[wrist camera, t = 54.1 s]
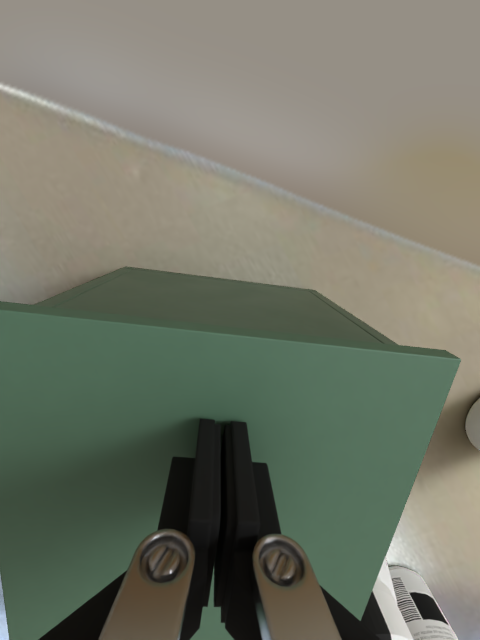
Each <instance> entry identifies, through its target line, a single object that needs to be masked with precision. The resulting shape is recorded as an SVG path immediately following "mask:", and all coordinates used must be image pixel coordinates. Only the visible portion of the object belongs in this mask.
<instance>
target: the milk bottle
mask: <svg viewBox="0 0 480 640" xmlns="http://www.w3.org/2000/svg"><path fill="white" fill-rule="evenodd" d="M465 429H466V434H467V436H468V438H469V440H470V442H471V443H472V444H473V445H474V446H475V447H476V448H477V449H478V450H479V451H480V398H479V399H478V400H477V401H476V402H475V403H474V404H473V406H472V407H471V409H470V411H469V413H468V415H467V419H466V426H465Z"/></svg>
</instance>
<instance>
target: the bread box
mask: <svg viewBox="0 0 480 640" xmlns="http://www.w3.org/2000/svg"><path fill="white" fill-rule="evenodd" d="M34 305H37V306H46V307H55V308H64V309H74V310H83V311H92V312H101V313H110V314H119V315H128V316H137V317H146V318H156V319H165V320H174V321H183V322H192V323H201V324H210V325H219V326H228V327H237V328H247V329H256V330H265V331H274V332H283V333H292V334H301V335H310V336H319V337H329V338H338V339H347V340H356V341H365V342H374V343H383V344H392V345H398V344H396V343H395V342H393V341H392V340H390V339H389V338H387V337H386V336H384V335H383V334H381V333H379V332H378V331H376V330H375V329H373V328H372V327H370V326H369V325H367V324H366V323H364V322H363V321H361V320H360V319H358V318H357V317H355V316H353V315H352V314H350V313H349V312H347V311H346V310H344V309H343V308H341V307H340V306H338V305H337V304H335V303H334V302H332V301H331V300H329V299H328V298H326V297H324V296H323V295H321V294H320V293H318V292H317V291H315V290H309V289H301V288H293V287H285V286H277V285H269V284H261V283H253V282H245V281H237V280H229V279H221V278H213V277H205V276H197V275H189V274H181V273H173V272H165V271H157V270H149V269H141V268H133V267H123V268H121V269H119V270H116V271H114V272H111V273H109V274H106V275H104V276H102V277H99V278H97V279H94V280H92V281H90V282H87V283H85V284H82V285H80V286H78V287H75V288H73V289H70V290H68V291H66V292H63V293H61V294H58V295H56V296H54V297H51V298H49V299H46V300H44V301H42V302H39V303H37V304H34Z"/></svg>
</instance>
